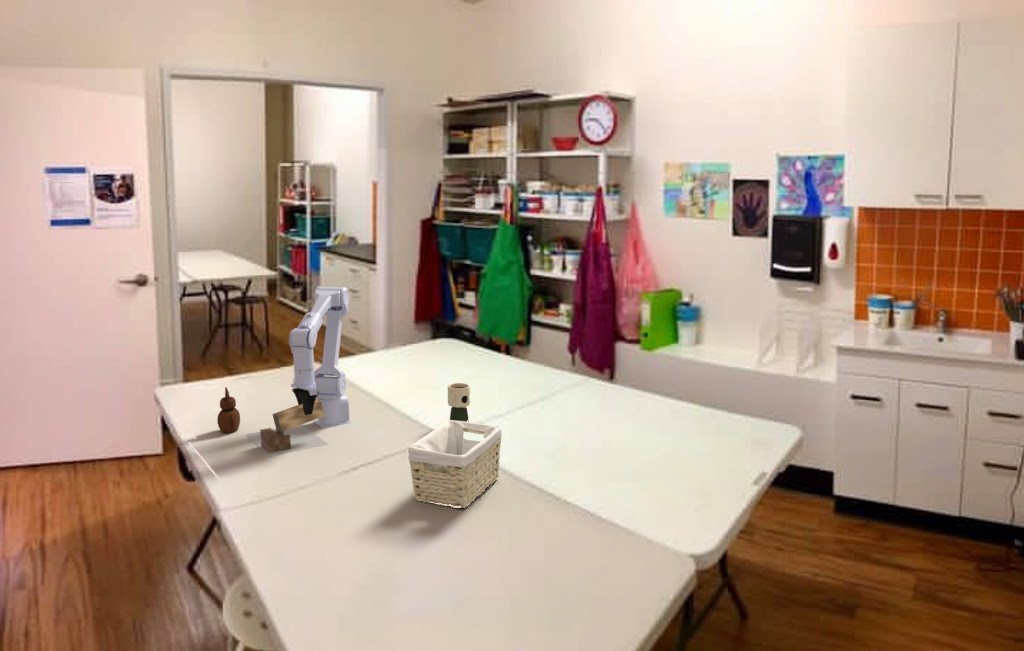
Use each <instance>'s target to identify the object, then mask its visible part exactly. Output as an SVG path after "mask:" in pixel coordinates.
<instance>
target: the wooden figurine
mask: <svg viewBox="0 0 1024 651" xmlns="http://www.w3.org/2000/svg"><path fill="white" fill-rule="evenodd" d="M236 406H237V401H236V398H235V397H234V396H230V392H229V390H228V387H226V386H225V388H224V397H222V398H221V399H220V401H219V408H220V411H219V413H218V415H217V418H216V419H217V426H218V428H219V430H220V432H221V433H222V434H227V435H228V434H234V433H236V432H237V431H238V430H239V427H240V425H241V424H240V423H241V414H240V411H239V410H238V409H237V408H236Z"/></svg>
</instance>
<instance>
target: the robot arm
mask: <svg viewBox="0 0 1024 651" xmlns="http://www.w3.org/2000/svg"><path fill="white" fill-rule="evenodd" d="M313 298H314V304H313V307H312V308H311V311H310V312H307V313H305V315H304V316H303V318H302V319H301V321H300V323H299V324H298V326H297V327H296V328H293V329H292V330H290V332H289V335H288V336H289V337H288V343H289V347H290V351H291V352H290V353H291V354H292V355H293V373H294V377H293V378H292V381H293V382H292V383H291V384H290V387H291V388H292V389H291V390H292V392H293V394H294V396H295V399H296V401H297V405H300V404H302V405H303V411H304V414H305V415H310V414H312V412H313V407H314V403H315V400H316V399H317V398H318V399H319V400H321V403H322V407H323V411H324V417H321V418H318V419H315V420H313V422H314V423H315V424H316V425H318V426H319V427H320V428H322V429H325V428H329V427H336V426H340V425H346V424H351V421H350V404H349V403H350V402H349V399H348V397H347V395H346V394H345V391H346V388H347V387H346V385H347V384H346V383H347V382H346V374H345V372H344V371H343V370H342V369H341V368H340V367H339V366H338V365H339V357H340V356H339V355H340V347H341V338H342V337H341V336H342V328H343V320H344V316H345V315H347V314H348V313H349V306H350V293H349V290H348V288H347V287H346V286H343V287H339V286H321V285H318V286H317V287H316V288H315V289H314V294H313ZM324 315H325V316H326V326H325V334H324V343H323V353H322V354H323V355H322V360H321V366H319V367H318V368H316V369H315V358H314V357H315V356H314V355H315V354H314V347H316V344H317V338H318V332H319V331H320V329H321V326H322V325H323V321H324V320H323V319H322V318H323V317H324Z"/></svg>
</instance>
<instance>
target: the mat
mask: <svg viewBox="0 0 1024 651" xmlns="http://www.w3.org/2000/svg"><path fill="white" fill-rule="evenodd" d="M272 430H276V428H275V429H272ZM288 434H289V435H290V440H291V449H286V450H281V451H277V452H272V453H268V452H267V451H266V450H265V449H264V448H263V447H262V446H261V433H260V431H258V432H252V433H247V434H245V436H246V437H247V438H248V439H249V440H250V441H251V442H253V444H254V445H255V446H257V448H259V449H260V450H261V451H262V452H263V453H264V454H265V455H266V456H267V457H272V456H279V455H283V454H287V453H293V452H298V451H303V450H307V449H311V448H317V447H322V446H326V445H327V446H328V445H329V443H328V442H326V441H325V440H324V439H323V438H321V437H320V436H319V435H317V434H316V433H315V432H314V431H312V430H311V429H309V428H308V427H307V426H305V425H304V424H302V425H299V426H296V427H293V428H291V429H288V430H285V431H284V435H288Z"/></svg>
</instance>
